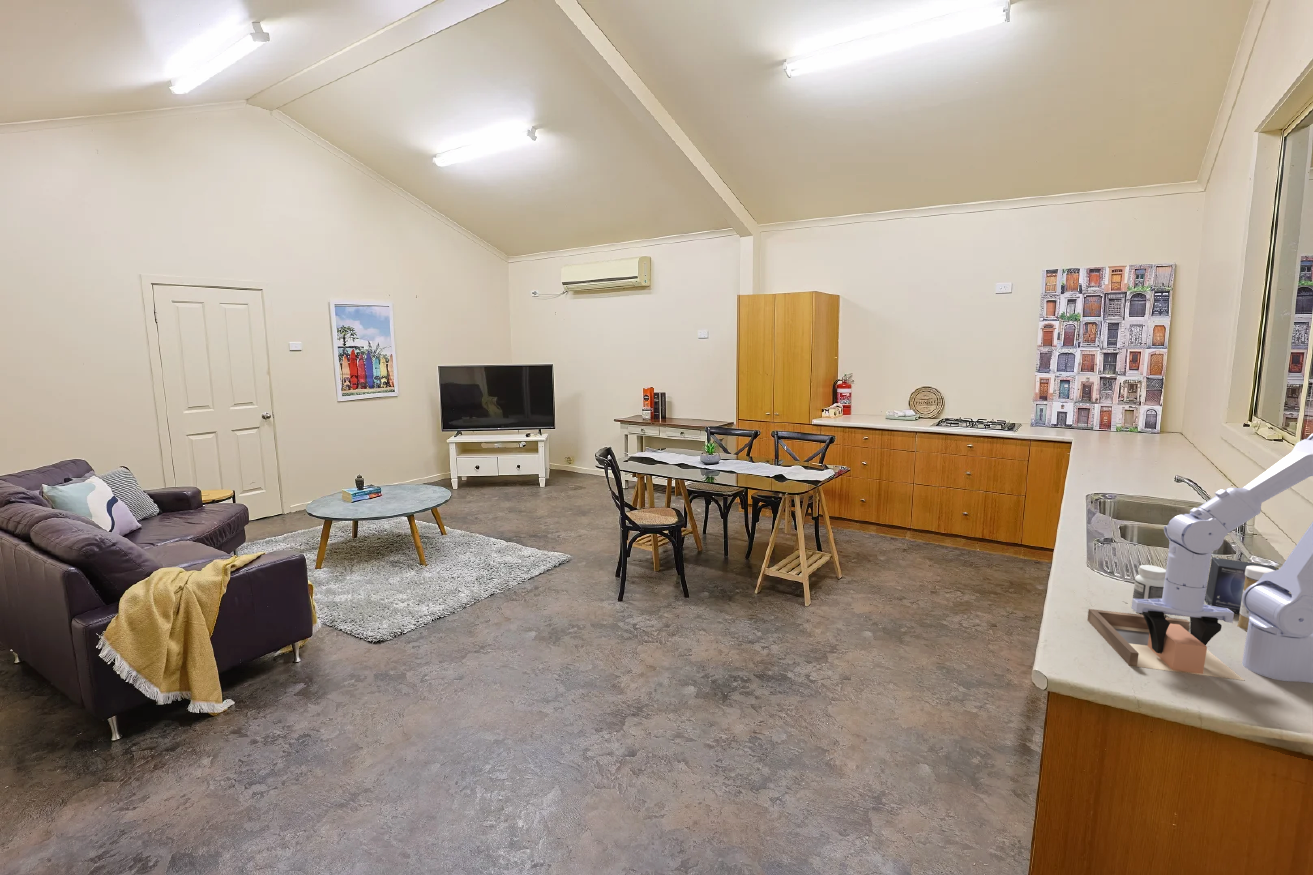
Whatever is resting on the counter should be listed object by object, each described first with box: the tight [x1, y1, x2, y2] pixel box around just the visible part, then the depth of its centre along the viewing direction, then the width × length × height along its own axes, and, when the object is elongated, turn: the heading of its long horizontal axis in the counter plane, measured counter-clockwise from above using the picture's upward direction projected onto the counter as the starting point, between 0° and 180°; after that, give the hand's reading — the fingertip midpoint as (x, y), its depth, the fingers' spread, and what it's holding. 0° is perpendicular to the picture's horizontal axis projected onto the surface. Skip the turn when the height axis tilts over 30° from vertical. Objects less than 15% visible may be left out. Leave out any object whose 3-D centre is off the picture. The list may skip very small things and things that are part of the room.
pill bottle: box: [1132, 564, 1166, 615], centre depth 134 cm, size 6×6×10 cm
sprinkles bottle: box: [1236, 566, 1274, 633], centre depth 125 cm, size 5×5×14 cm
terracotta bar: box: [1148, 624, 1208, 674], centre depth 112 cm, size 9×4×5 cm, turn 164°
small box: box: [1204, 556, 1278, 615], centre depth 136 cm, size 11×6×10 cm, turn 60°
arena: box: [1087, 608, 1245, 681], centre depth 117 cm, size 17×19×4 cm
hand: (1175, 653), depth 112 cm, fingers open, 5 cm apart
